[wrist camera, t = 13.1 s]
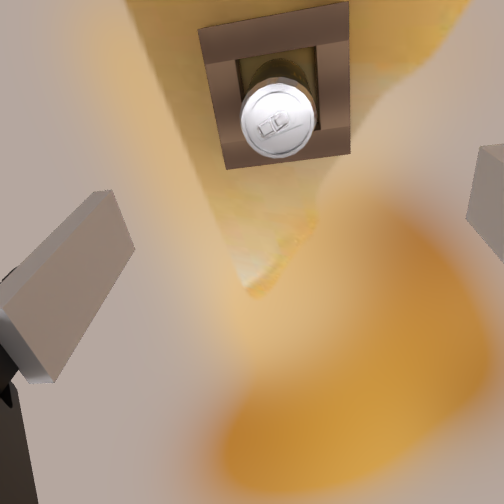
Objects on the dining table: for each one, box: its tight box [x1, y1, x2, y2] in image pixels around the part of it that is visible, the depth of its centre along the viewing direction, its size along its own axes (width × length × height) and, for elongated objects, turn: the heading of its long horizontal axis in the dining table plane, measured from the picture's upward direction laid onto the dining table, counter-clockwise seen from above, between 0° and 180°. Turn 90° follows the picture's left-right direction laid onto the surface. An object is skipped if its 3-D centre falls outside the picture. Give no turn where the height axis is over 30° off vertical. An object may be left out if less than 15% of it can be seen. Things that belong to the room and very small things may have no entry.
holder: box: [197, 1, 350, 170], centre depth 33 cm, size 12×12×3 cm
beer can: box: [239, 59, 317, 158], centre depth 30 cm, size 5×5×12 cm
